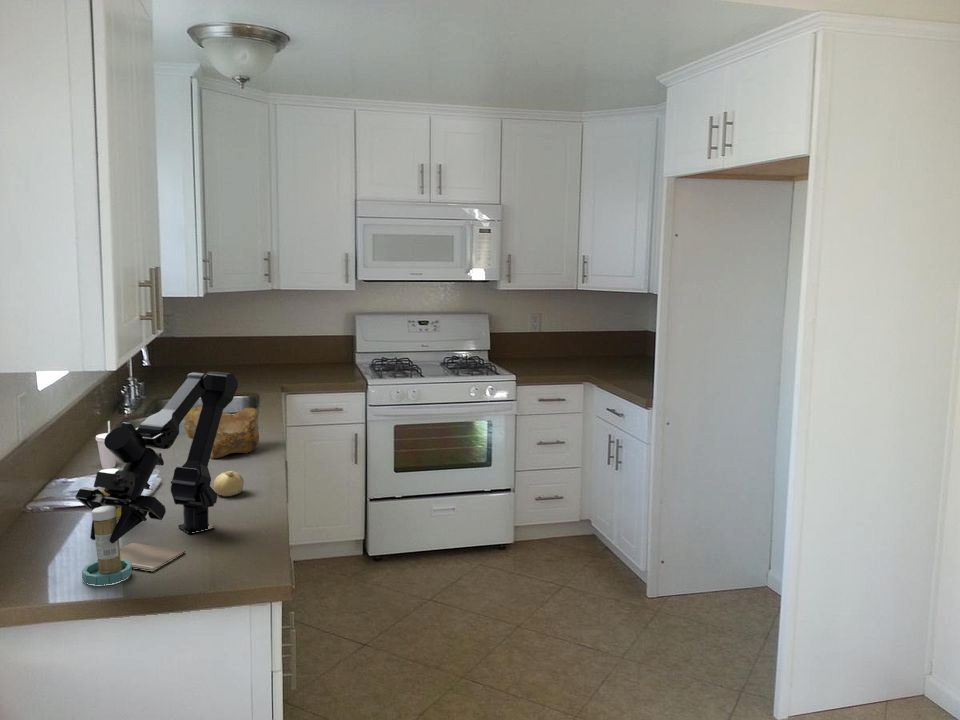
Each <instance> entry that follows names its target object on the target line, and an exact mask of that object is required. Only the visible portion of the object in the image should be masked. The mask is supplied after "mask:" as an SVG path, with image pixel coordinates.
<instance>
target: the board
mask: <svg viewBox="0 0 960 720" xmlns="http://www.w3.org/2000/svg"><path fill="white" fill-rule="evenodd" d="M184 552H185V553H186V550H181V549H175V548H169V547H162V546H156V545H150V544H144V543H138V542H130V543H129V544H126V545H124V546H122V547H120V559H124V560H128V561H129V562H130V563H132V568H138V569H145V570H154V569H155V568H158V567H159V566H161V565H162V564H164V563H166V562H168V561H169V560H171V559H173V558H175V557H177V556H178V555H180V554H182V553H184ZM96 561H98V559H97V560H96Z"/></svg>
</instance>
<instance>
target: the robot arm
mask: <svg viewBox="0 0 960 720" xmlns="http://www.w3.org/2000/svg"><path fill="white" fill-rule="evenodd" d="M238 387H239V381H238V379H237V378H236V375H234V374H233V373H231V372H222V371H221V372H219V371H207V372H206V373H205V372H197V371H193V372H191V373H190V372H189V373H188V374H186V377H185V381H184V382H183V383H182V384H181V386H180V387H179V388H178V389H177V391H176V392H175V393H174V394H173V396H172V397H171V398H170V400H168V402H167V403H166V404H165V405H164V407H163V408H162V409H161V410H160V411H158V412H155V413H153V414H151V415H149V416H148V417H147V418H146V419H145V420H143V421H142V422H141V423H140V424H139V425H138V427H135V426H134V425H133V424H132V423H130V422H122V423H121V425H120V426H118V427H116V428H114V429H112V430H110V433H109V434H107V436H106V438H105V441H104V443H105V446H106V448H108V449H109V450H110V451H111V452H112V453H113V454H114V455H115V456H116V459H117V460H119V461H120V462H122V463H125V464H124V466H123V468H122V470H121V469H118V471H116V472H115V474H111V473H104V472H99V471H97V472H96V475H95V478H94V479H95V480H94V484H93V487H87V486H86V487H85V486H83V487H81V488H79V489H78V491H77V493H76V495H75V496H74V497H75V499H76V500H77V501H79V502H80V503H81V504H83V505H84V507H86V508H87V509H89V510H91V511H92V510H93V509H95V508H98V507H102V506H114V507H121V517H120V519H119V521H118V523H117V525H116V527H115V529H114V531H113V533H112V535H111V538H110V542H111V543H115V542H116V541H117V540H118V539H119V540H120V539H121V538H122V537H123V536H125V534H127V533H128V532H129V531H131V530H133V529H134V528H135V527H137V526H138V525H140V524H141V523H142V522H147V520H148V519H147V515H148V517H149V518H150V519H152V520H157V521H158V520H159V521H162V520H164V517H165V515H166V512H167V511H166V506H165V505H164V504H163V503H162V502H161V501H160V500H158V499H157V498H156V497H155V496H150V495H143V492H144V491H145V490H149V489H150V486H151V485H150V484H149V480H150V478H151V477H152V474H153V472H154V470H155V468H156V466H164V464H165V463H164V459H163V457H162V453H161V452H156V451H155V450H154V449H158V450H168V449H170V448H171V447H172V446H173V445H174V443H175V441H176V439H177V438H178V436H179V434H180V424H181V423H182V421H183V420H185V416H186V415H187V413H188V412H189V411H190V410H191V409H193V407H195V404H197V402H198V401H199V399H200V401H201V404H202V406H201V407H202V409H201V412H200V416H199V419H198V423H197V427H196V430H195V434H194V437H193V439H192V440H191V445H190V449H189V452H188V455H187V460H186V461H185V462H184V463H183V465H182V466H176V467H175V469H174V472H173V476H172V479H171V481H170V484H171V485H170V492H171V495H172V499H173V502H174V504H175V505H180V506H182V509H183V511H182V512H183V515H182V516H183V523H181V524H179V525H178V526H177V527H180V528H181V529H183V530H184V531H183V530H182V531H183V532H185V531H186V532H188V533H192V532H196V531H201V530H205V529H208V526H209V523H210V522H209V508H212V507H214V506H215V504H217V500H218V497H219V496H218V495H219V494H217V493H216V491H215V490H214V488H213V487H211V482H212V476H211V473H210V470H209V468H208V467H209V462H210V456H211V452H212V448H213V445H214V441H215V437H216V434H217V430H218V426H219V423H220V419H221V415H222V413H224V412H223V411H224V409H225V408H226V407H228V406H229V404H231V403H232V402H233V400H234V398H235V395H236V392H237V389H238ZM95 487H102V488H105V489H104V491H105V492H106V493H109V494H110V495H109V496H105V495H104V494H103V493H102V492H101V491H99V490H98V489H95ZM180 528H179V529H180ZM181 529H180V530H181ZM186 532H185V533H186ZM188 533H187V534H188ZM89 538H90V539H91V541H95V529H94V522H93V520H92V522H91V530H90V536H89Z"/></svg>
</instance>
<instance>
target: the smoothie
mask: <svg viewBox="0 0 960 720" xmlns="http://www.w3.org/2000/svg"><path fill="white" fill-rule="evenodd" d="M110 432H111V421H110V420H108V421H107V432H105V433H99V434H97V435H96V436H95V441H96V442H97V447H98V448H97V449H98V454H99V459H100V464H101V465H100V466H101V468H102V469H103V470H104V469H115V468H116V463H117V462H116V461H117V457H116V456H115V455H114V454H113V453H112V452H111V451H110V450H109V449H108V448H106V446H105V443H104V441H105V438H106V436H107V434H109V433H110Z"/></svg>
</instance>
